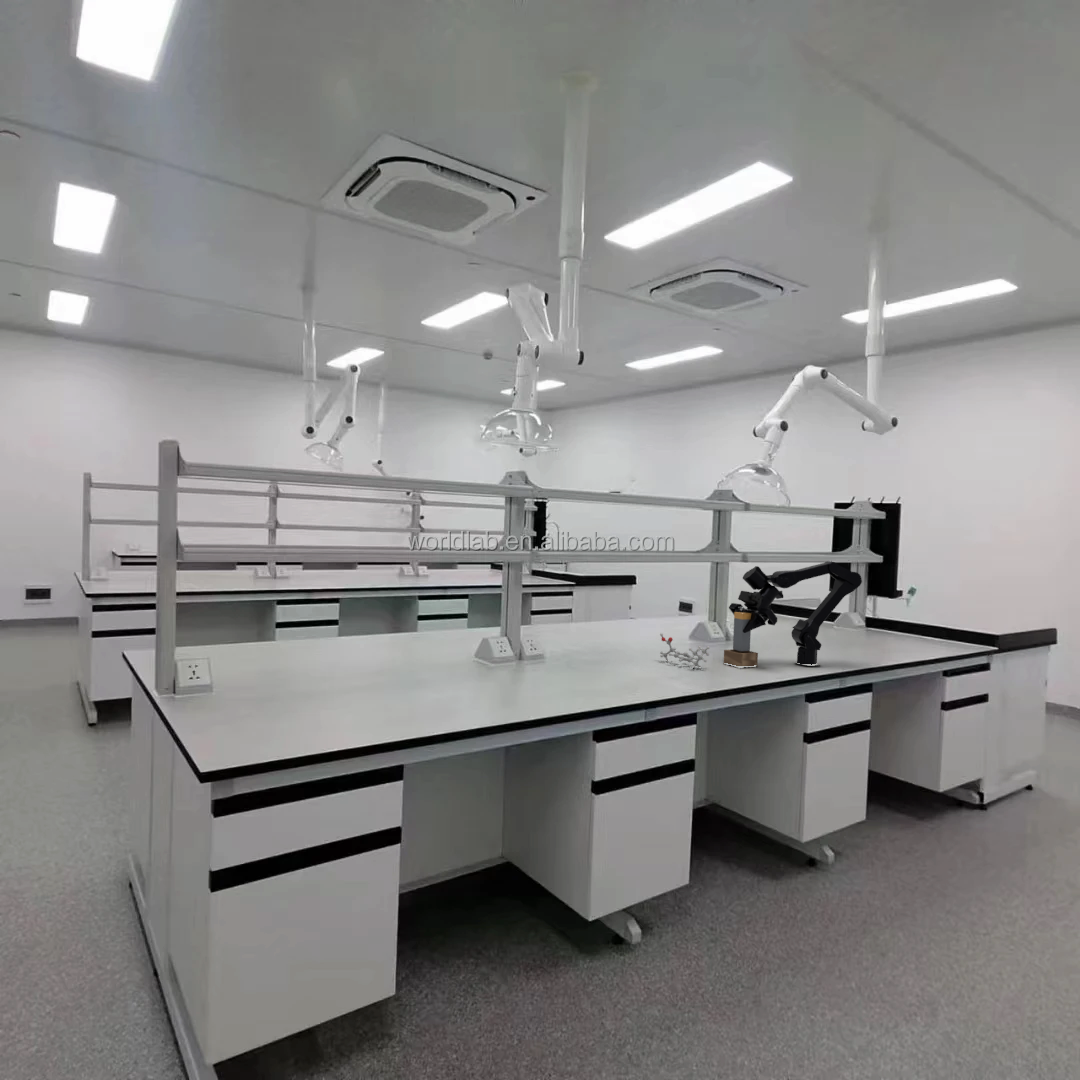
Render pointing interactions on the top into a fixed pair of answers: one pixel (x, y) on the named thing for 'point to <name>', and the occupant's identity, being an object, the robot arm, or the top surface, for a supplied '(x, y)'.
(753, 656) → the open wooden box
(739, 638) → the grey orange tall block
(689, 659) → the molecular model
